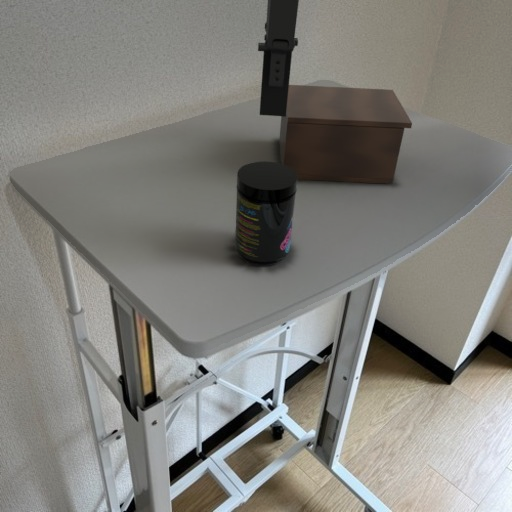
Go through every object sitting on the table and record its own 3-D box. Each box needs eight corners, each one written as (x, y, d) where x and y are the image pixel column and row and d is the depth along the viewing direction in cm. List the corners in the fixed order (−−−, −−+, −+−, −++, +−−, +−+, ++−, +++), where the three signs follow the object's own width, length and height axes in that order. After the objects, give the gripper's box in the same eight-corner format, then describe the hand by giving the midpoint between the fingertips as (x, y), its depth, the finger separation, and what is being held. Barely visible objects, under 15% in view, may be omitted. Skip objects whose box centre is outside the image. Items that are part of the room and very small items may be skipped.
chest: (376, 145, 94) (386, 94, 89) (392, 183, 83) (404, 128, 78) (279, 140, 93) (283, 89, 88) (282, 178, 82) (287, 123, 77)
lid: (391, 94, 88) (392, 89, 88) (411, 128, 78) (412, 123, 77) (283, 89, 88) (283, 84, 88) (287, 122, 77) (287, 117, 77)
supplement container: (279, 274, 63) (287, 195, 57) (225, 259, 65) (227, 181, 59) (296, 243, 69) (305, 168, 62) (246, 231, 70) (249, 156, 64)
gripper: (250, -173, 49) (239, 89, 63) (246, -181, 38) (234, 136, 52) (334, -166, 49) (304, 93, 63) (353, -173, 38) (312, 141, 52)
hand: (272, 112), depth 57 cm, fingers closed
